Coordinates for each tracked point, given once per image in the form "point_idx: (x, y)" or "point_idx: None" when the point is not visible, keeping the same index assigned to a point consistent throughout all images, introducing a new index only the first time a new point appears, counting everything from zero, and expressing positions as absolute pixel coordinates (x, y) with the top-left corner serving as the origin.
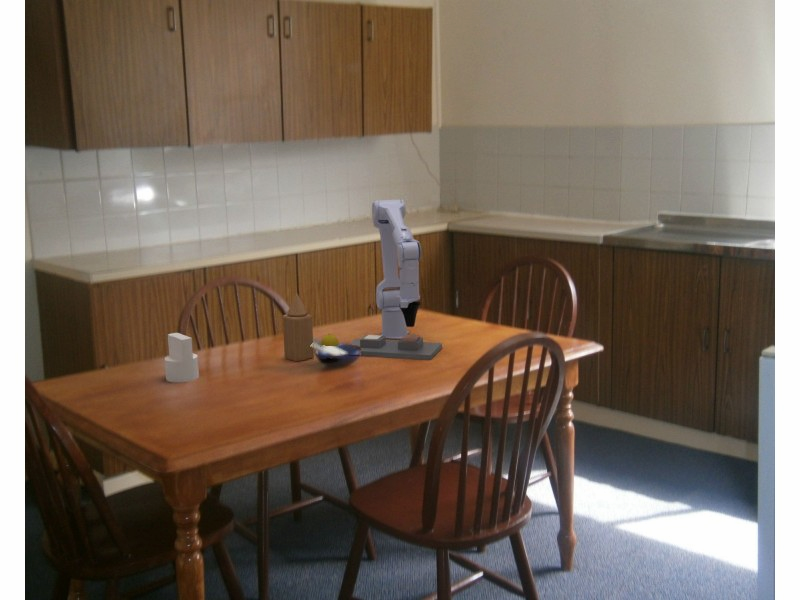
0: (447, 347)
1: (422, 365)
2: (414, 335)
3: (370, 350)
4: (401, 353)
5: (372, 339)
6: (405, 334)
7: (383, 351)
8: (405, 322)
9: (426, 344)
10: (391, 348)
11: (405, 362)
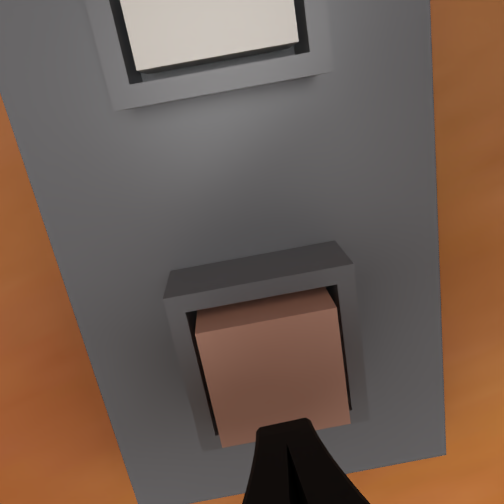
0: (449, 451)
1: (19, 493)
2: (316, 397)
3: (30, 57)
4: (84, 341)
5: (121, 6)
6: (325, 311)
7: (63, 188)
8: (254, 459)
9: (383, 386)
10: (178, 206)
11: (20, 386)
